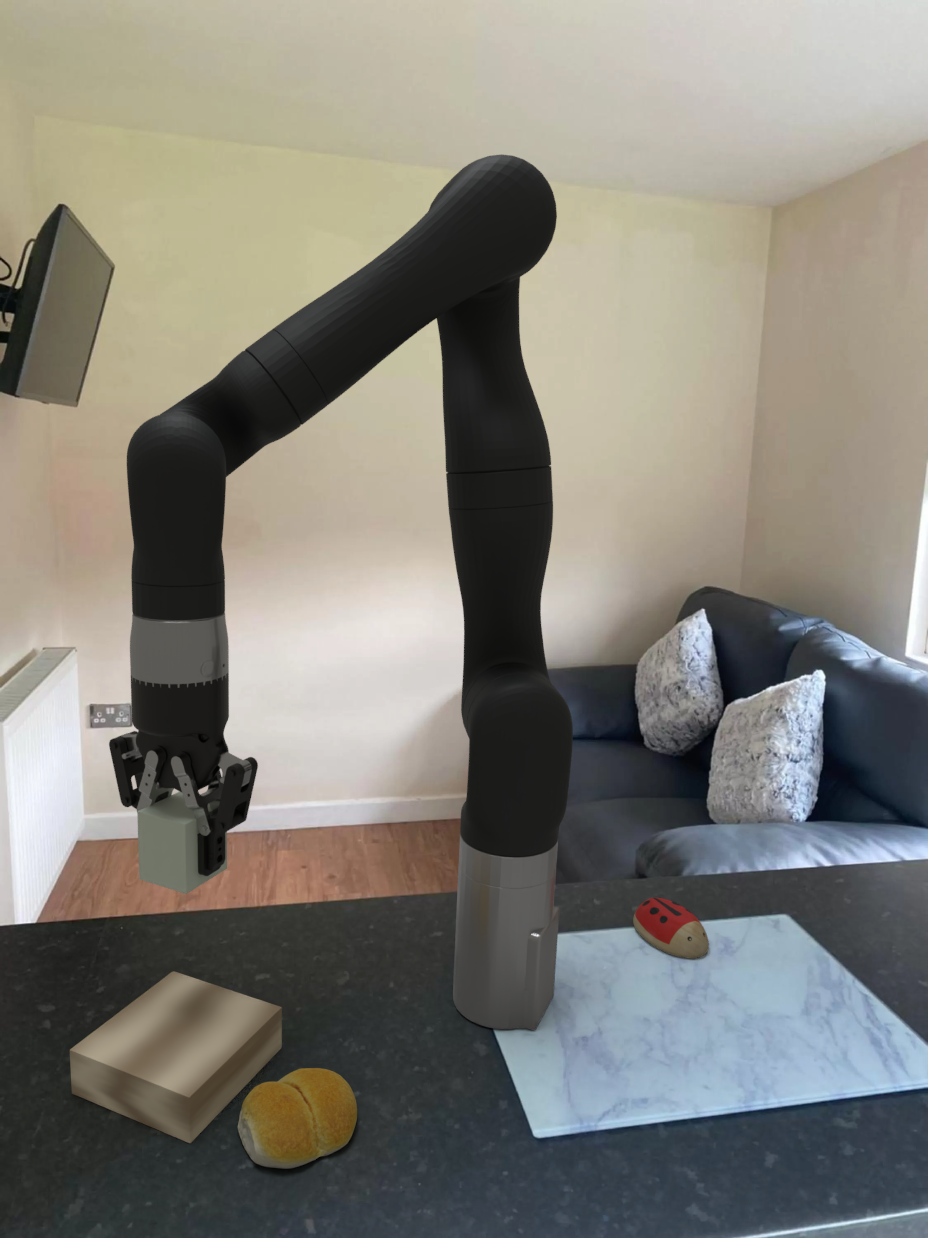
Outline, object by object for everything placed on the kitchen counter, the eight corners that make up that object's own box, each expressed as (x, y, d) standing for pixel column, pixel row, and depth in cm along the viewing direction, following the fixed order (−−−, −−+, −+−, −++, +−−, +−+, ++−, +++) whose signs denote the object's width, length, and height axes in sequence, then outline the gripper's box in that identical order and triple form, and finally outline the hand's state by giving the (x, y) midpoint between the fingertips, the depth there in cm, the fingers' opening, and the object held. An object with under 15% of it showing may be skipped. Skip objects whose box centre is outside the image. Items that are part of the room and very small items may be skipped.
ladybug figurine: (680, 970, 92) (683, 939, 91) (616, 925, 100) (618, 897, 99) (723, 952, 95) (726, 922, 95) (657, 911, 104) (660, 883, 103)
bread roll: (374, 1141, 67) (375, 1096, 67) (263, 1191, 63) (263, 1143, 62) (329, 1076, 74) (329, 1034, 73) (225, 1116, 69) (225, 1072, 68)
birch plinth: (281, 1047, 77) (281, 1007, 76) (190, 1143, 66) (189, 1097, 65) (174, 1009, 82) (173, 971, 81) (71, 1093, 71) (69, 1050, 70)
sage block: (227, 868, 75) (226, 802, 73) (186, 894, 70) (185, 824, 69) (181, 855, 77) (180, 791, 75) (139, 879, 72) (137, 811, 71)
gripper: (282, 671, 70) (280, 865, 74) (146, 647, 76) (151, 829, 79) (220, 692, 64) (221, 905, 67) (77, 664, 69) (85, 862, 73)
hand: (183, 863), depth 73 cm, fingers closed on sage block, 5 cm apart
